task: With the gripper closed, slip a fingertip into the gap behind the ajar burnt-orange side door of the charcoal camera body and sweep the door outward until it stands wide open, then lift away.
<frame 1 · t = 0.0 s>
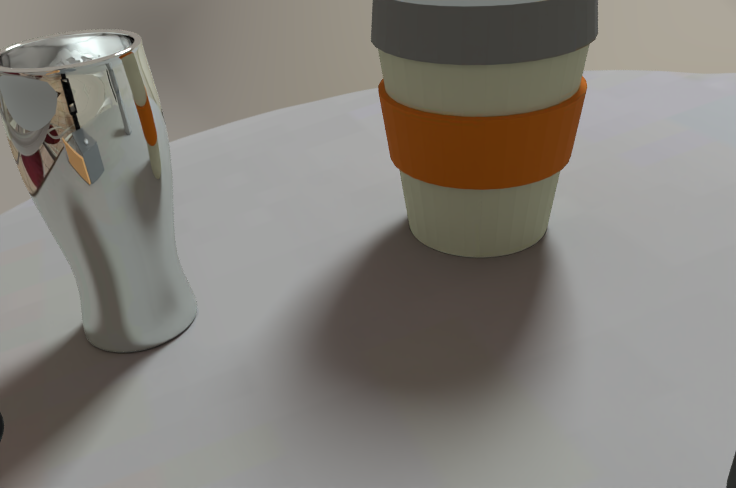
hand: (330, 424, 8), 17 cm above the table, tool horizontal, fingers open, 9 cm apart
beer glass: (143, 321, 39), on the table
reusable coffee cup: (477, 224, 46), on the table
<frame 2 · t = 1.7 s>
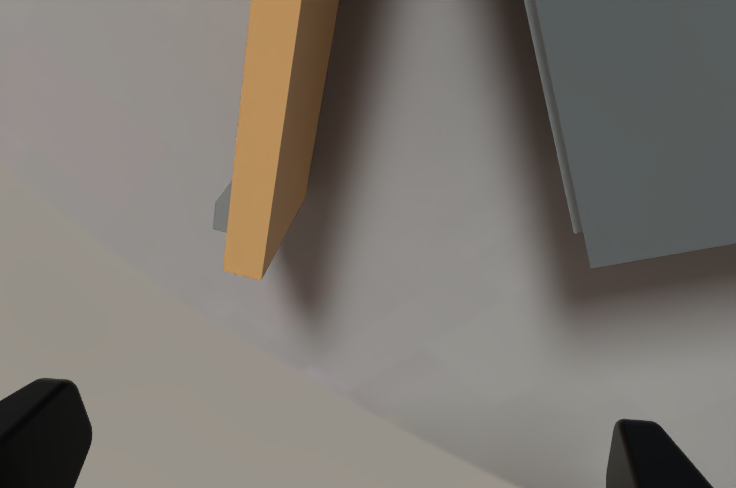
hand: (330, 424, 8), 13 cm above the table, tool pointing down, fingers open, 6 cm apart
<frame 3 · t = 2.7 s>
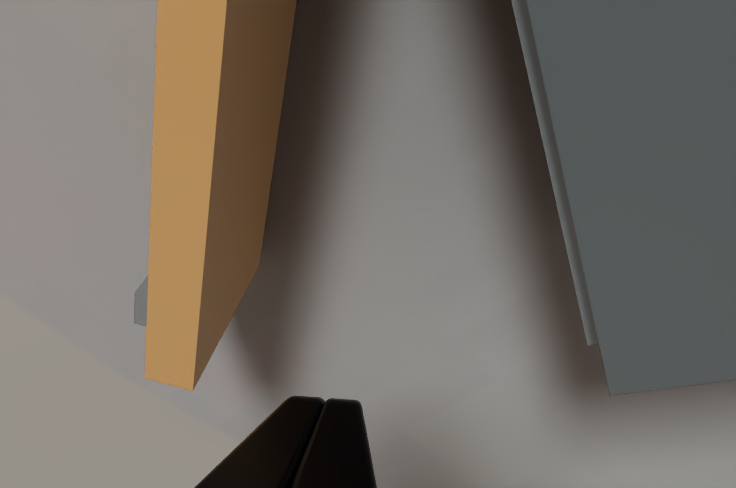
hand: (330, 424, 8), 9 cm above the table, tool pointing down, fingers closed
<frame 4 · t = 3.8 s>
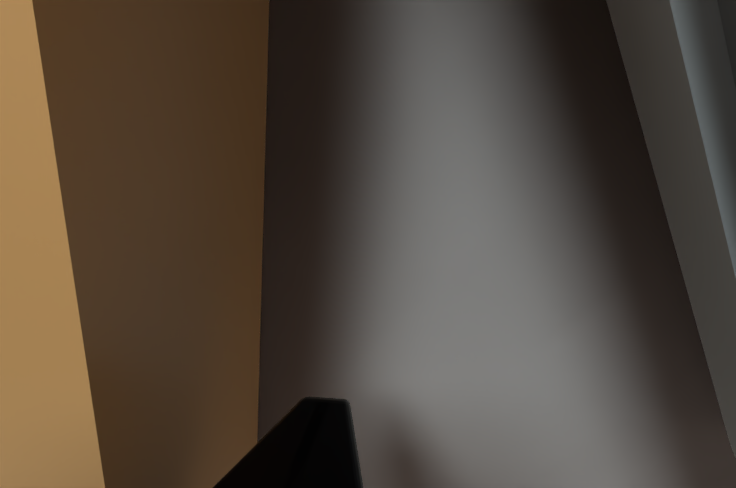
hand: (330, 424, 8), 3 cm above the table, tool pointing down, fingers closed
side door: (119, 148, 7), point 3 cm above the table, hinge at 30.6°, touching gripper
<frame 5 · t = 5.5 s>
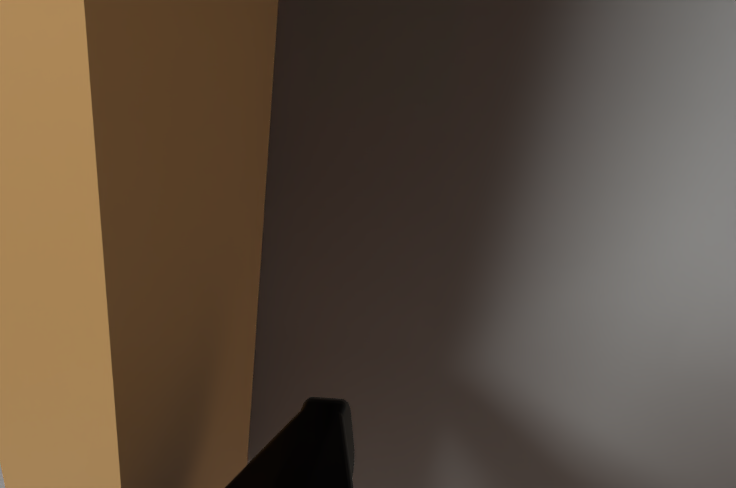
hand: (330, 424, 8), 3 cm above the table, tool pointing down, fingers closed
side door: (132, 146, 7), point 3 cm above the table, hinge at 64.9°, touching gripper
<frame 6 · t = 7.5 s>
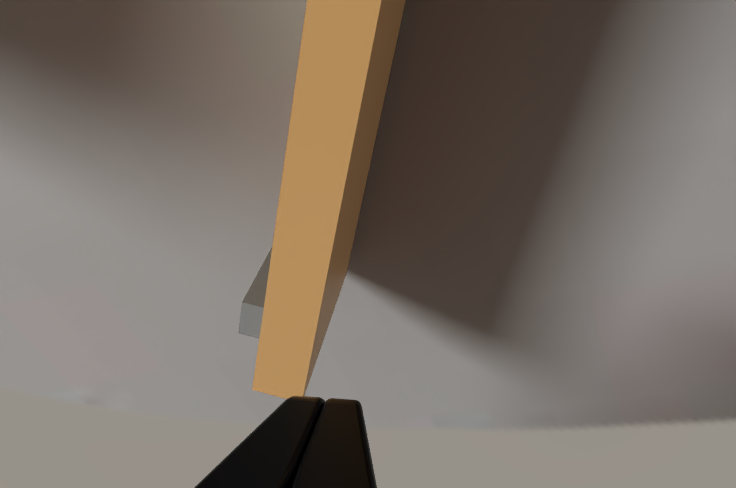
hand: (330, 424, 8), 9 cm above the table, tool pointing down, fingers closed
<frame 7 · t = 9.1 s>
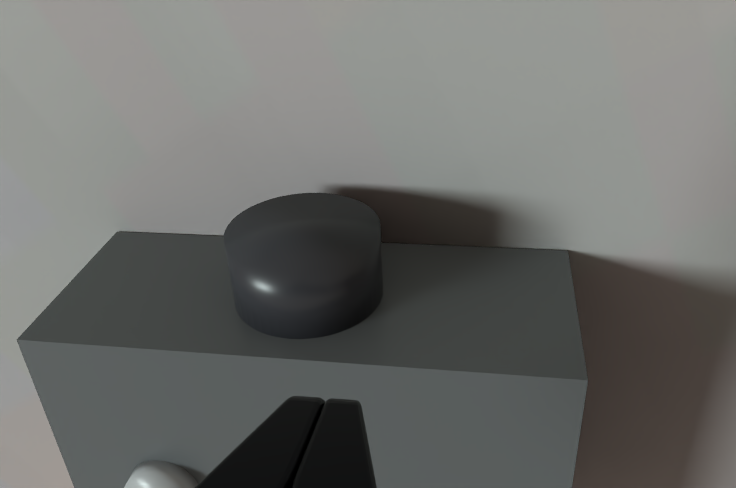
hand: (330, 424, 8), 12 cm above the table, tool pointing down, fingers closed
camera body: (341, 366, 24), on the table
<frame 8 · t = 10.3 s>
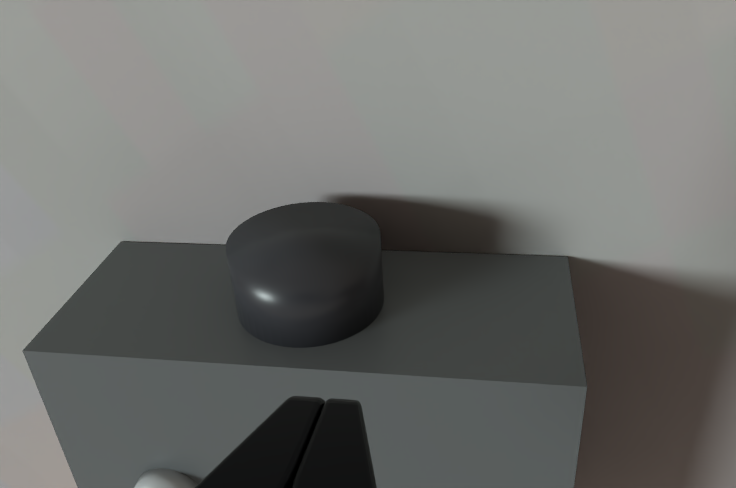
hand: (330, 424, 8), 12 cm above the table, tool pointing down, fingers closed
camera body: (344, 372, 24), on the table
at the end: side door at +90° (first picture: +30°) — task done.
